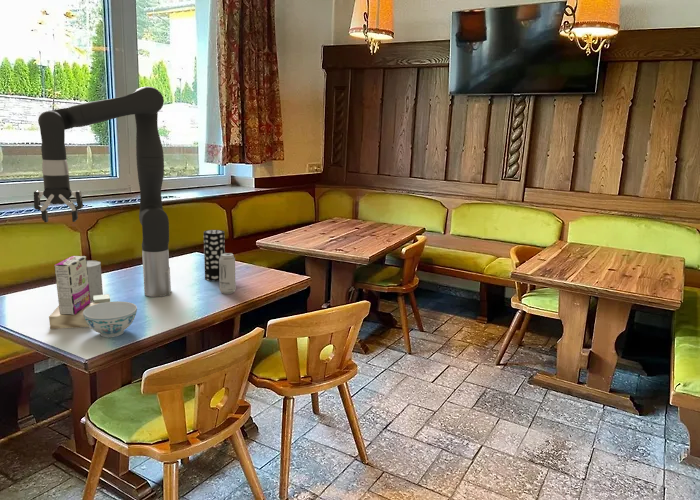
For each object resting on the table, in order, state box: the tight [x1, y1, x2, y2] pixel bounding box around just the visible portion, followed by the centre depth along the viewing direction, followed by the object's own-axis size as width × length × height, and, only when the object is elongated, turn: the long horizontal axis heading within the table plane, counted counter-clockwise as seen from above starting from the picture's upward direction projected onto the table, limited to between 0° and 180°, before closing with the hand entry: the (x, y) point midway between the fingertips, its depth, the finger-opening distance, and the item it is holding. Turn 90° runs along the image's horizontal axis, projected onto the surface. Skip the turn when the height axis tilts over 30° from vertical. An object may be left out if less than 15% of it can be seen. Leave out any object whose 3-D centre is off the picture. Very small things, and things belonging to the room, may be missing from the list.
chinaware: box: [83, 301, 138, 338], centre depth 162 cm, size 15×15×8 cm
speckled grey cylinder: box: [86, 259, 104, 301], centre depth 194 cm, size 10×10×12 cm
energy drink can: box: [218, 252, 236, 295], centre depth 204 cm, size 6×6×15 cm
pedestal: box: [48, 302, 100, 330], centre depth 171 cm, size 12×12×4 cm
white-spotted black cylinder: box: [203, 229, 226, 282], centre depth 220 cm, size 8×8×20 cm
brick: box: [92, 293, 111, 303], centre depth 181 cm, size 5×5×5 cm
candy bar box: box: [54, 255, 92, 315], centre depth 168 cm, size 11×5×16 cm, turn 1°
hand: (60, 221), depth 178 cm, fingers open, 8 cm apart
